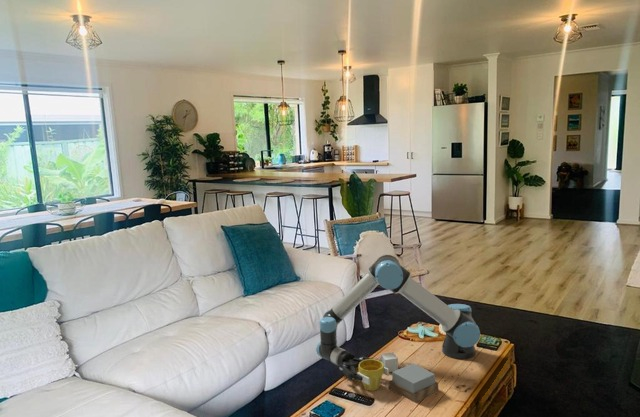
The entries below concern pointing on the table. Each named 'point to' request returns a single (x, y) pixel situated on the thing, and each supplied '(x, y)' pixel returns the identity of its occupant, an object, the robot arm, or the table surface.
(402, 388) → the walnut base slab
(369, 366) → the plant pot
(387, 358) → the matte white cube
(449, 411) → the table surface
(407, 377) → the gray square slab
